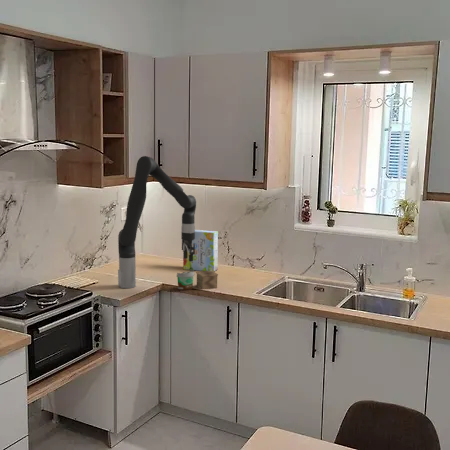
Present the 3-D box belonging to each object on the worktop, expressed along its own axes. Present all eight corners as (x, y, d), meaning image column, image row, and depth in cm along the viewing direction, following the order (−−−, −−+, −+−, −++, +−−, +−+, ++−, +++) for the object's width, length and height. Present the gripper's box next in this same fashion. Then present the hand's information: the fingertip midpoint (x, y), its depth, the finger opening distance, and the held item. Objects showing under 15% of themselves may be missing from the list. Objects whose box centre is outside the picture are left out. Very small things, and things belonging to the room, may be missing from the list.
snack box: (218, 269, 369) (218, 230, 366) (213, 272, 361) (214, 232, 358) (187, 266, 377) (188, 228, 373) (182, 269, 369) (182, 230, 365)
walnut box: (202, 289, 320) (202, 275, 318) (195, 285, 328) (196, 272, 327) (217, 288, 324) (218, 274, 322) (211, 284, 332) (211, 270, 331)
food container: (184, 292, 313) (184, 274, 312) (176, 290, 317) (176, 273, 316) (199, 288, 323) (199, 270, 322) (190, 286, 327) (191, 269, 325)
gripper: (177, 229, 320) (177, 257, 323) (186, 233, 307) (186, 262, 310) (189, 229, 323) (189, 256, 326) (199, 232, 310) (199, 261, 313)
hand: (188, 259), depth 318 cm, fingers open, 8 cm apart
